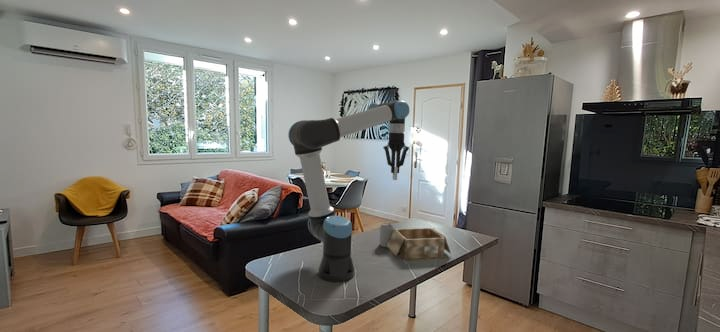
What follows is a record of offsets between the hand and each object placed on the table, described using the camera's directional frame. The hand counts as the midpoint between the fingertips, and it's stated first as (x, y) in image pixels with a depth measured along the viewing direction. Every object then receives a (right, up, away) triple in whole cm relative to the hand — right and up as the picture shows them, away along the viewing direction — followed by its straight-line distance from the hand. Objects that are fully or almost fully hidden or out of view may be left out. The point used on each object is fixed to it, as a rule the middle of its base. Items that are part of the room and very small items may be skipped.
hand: (394, 179), depth 161 cm
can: (-3, -36, +9) cm, 37 cm away
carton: (+12, -37, 0) cm, 39 cm away
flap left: (0, -31, -3) cm, 31 cm away
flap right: (+24, -31, +3) cm, 39 cm away
